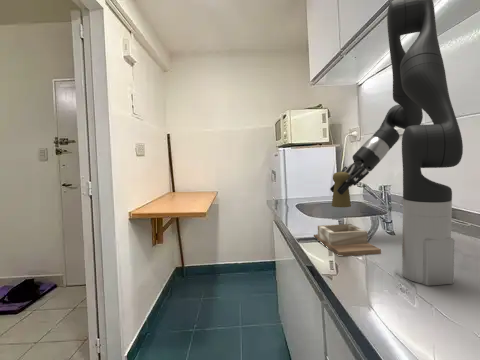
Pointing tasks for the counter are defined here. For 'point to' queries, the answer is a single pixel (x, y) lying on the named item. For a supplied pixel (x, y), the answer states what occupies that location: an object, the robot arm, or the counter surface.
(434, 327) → the counter surface
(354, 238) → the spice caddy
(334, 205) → the cork
